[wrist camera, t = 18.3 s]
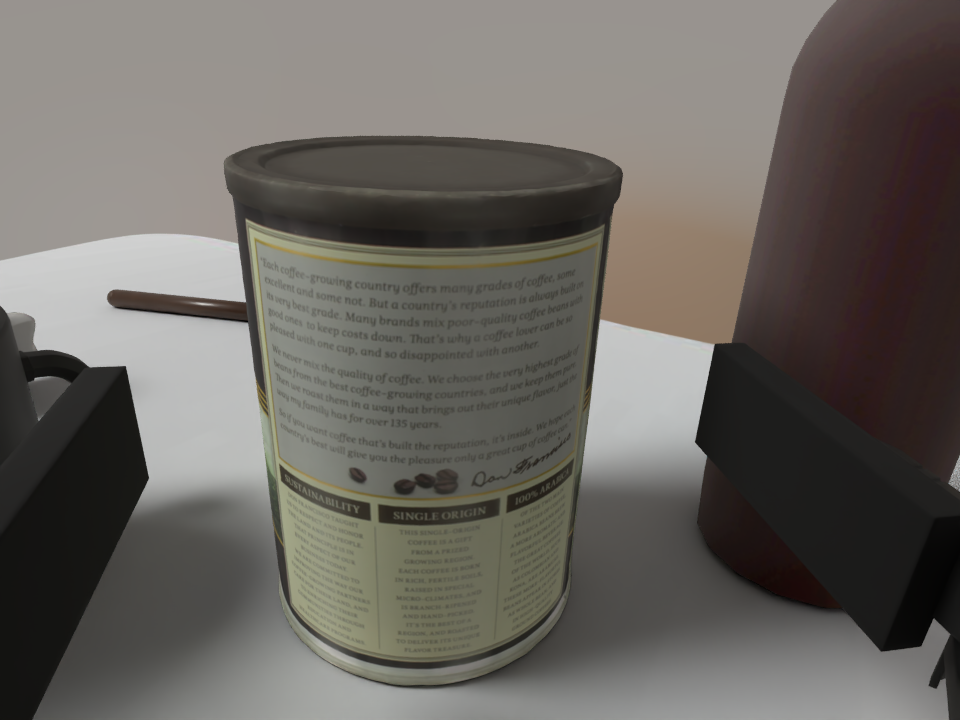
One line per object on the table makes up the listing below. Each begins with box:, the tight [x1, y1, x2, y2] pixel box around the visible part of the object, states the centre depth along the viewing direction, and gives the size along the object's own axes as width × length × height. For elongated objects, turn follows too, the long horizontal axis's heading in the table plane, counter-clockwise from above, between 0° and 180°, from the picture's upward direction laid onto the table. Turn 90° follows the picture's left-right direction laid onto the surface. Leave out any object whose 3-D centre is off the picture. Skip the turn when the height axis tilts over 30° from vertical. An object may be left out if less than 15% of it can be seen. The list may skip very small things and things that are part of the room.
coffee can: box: [224, 136, 623, 686], centre depth 20 cm, size 10×10×14 cm
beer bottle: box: [697, 0, 960, 608], centre depth 19 cm, size 8×8×30 cm
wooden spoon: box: [107, 290, 248, 321], centre depth 44 cm, size 19×4×1 cm, turn 80°
